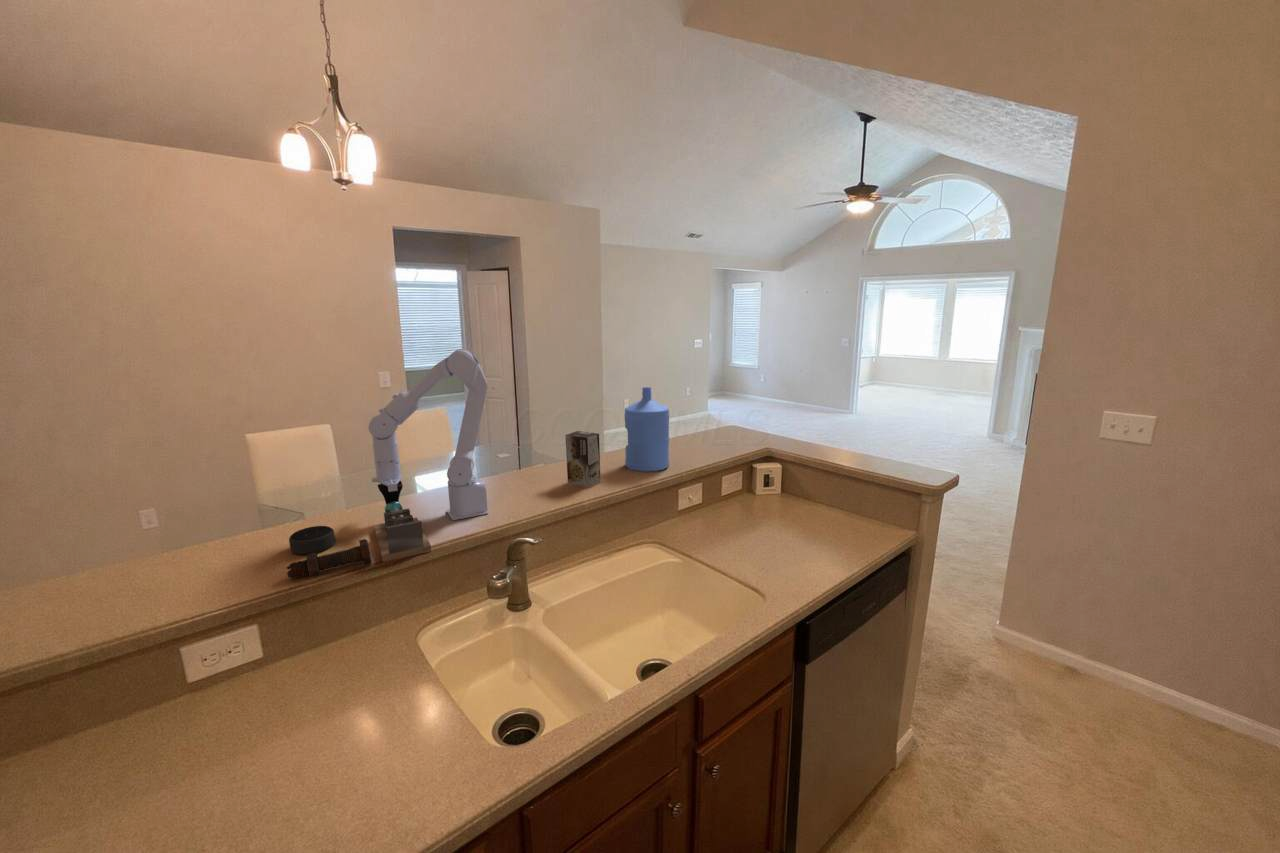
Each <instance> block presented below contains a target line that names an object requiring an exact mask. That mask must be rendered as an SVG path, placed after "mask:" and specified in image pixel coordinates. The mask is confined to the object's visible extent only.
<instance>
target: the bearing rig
mask: <svg viewBox="0 0 1280 853" xmlns="http://www.w3.org/2000/svg"><path fill="white" fill-rule="evenodd" d="M400 515H401V517H397V518H392V517H394V516H400ZM383 518H384V519H383V520H384V523H380V524H374V525H373V530H374V535H375V539H376V541H377V545H378V548H379V554H380V556H381V557H380V558H381V560H382V563H385V562H390V561H395V560H399V559H405V558H407V557H413V556H416V555H421V554H422V555H423V554H426V553H429V552H432V545H431V543H430V541H429V539H428V537H427V535H426V533H425V530H424V529H423V527H422V520H419V518H418V517H413V515H412V514H411V509H410V508H404V509H403V508H402V510H397V511H391V512H383ZM401 522H404V524H399V525H395V524H396V523H401Z"/></svg>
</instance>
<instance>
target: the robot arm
mask: <svg viewBox="0 0 1280 853" xmlns="http://www.w3.org/2000/svg"><path fill="white" fill-rule="evenodd" d="M453 375H454V376H455V377H457V378H458V379H460V380H461V382H462V383H463V384H464V385H465V387H466V388H467V389H468V392H467V395H466V396H467V397H466V401H465V407H464V410H463V411H464V412H463V414H462V415H463V416H462V419H461V425H460V431H459V435H458V439H457V443H456V444H457V445H456V449H455V453H454V456H453V457H452V458H451V460H450V462H449V467H448V468H447V471H446V477H447V479H448V481H447V489H448V490H447V491H448V498H449V500H448V501H449V503H448V504H449V509H446V513H447V514H448V516H449V518H450V519H451V520H452V521H456V520H457V521H459V520H462V519H467V518H473V517H477V516H483V515H487V514H489V511H488V510H489V509H488V498H487V488H486V487H487V486H486V483H485V481H484V479H482V478H478V479H477V478H476V476H474V474H473V473H474V472H473V471H474V467H475V463H474V460H473V459H474V458H473V455H474V450H475V447H476V442H477V438H478V433H479V430H480V425H481V418H482V415H483V409H484V404H485V400H486V396H487V391H488V384H489V383H488V381H487V378H486V377H485V374H484V372H483V369H482V366H481V364H480V362H479V359H477V357H476V356H475V355H474V354H473V353H472V352H471V351H470V350H468V349H464V348H458V349H456V350H454V351H453V352H452V353H451V354H450V355H449V356H447V357H445V358H443V359H442V360H441V361H439V362H437V363H436V364H435V365H434V366H433V367H432V368H430V370H429V371H428V372H427V373H426V374H425V375H424V376H423V377H422V378H421V379H420V380H419V381H418V382H417V383H415V385H414V386H413V387H412V388H411V389H410V390H408V391H400V392H399V393H398V392H396V393H395V394H394V395H392V397H391V398H392V399H391V400H390V402H389V403H388V404H387V405H386V406H384V407H380V409H379V410H378V413H379V414H377V415H375V416H373V417H372V418H371V420H370V422H369V423H368V431H369V434H370V435H371V437H372V449H373V457H374V466H375V474H376V475H375V476H376V477H372V478H371V482H372V483H377V489H378V491H379V492H380V494H382V497H383V498H384V502H385V505H386V504H387V503H389V502H390V501H398V502H399V501H400V500H399V499H400V494H401V491H402V489H403V488H404V487H403V483H402V479H403V474H402V471H401V470H402V469H401V463H400V462H401V459H400V450H399V442H398V440H397V438H398V437H397V432H396V431H397V430H398V427H399V426H400V425H402V424H404V422H405V421H406V420H407V419H408V418H411V416H412V415H413V414H414V413H415V412H417V410H418V409H419V408H420V399H421V398H422V397H424V396H425V395H426V394H427V393H428V392H429V391H430V390H431V389H432V388H433V387H435V385H436V384H437V383H439V382H440V381H441V380H445V379H449V378H452V377H453ZM378 483H379V484H378ZM399 503H400V502H399Z"/></svg>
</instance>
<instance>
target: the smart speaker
mask: <svg viewBox="0 0 1280 853" xmlns="http://www.w3.org/2000/svg"><path fill="white" fill-rule="evenodd" d="M335 535H336V534H335V530H334V529H333V528H332V527H330V526H327V525H316V526H315V525H314V526H310V527H305V528H303V529H299V530H297V531H294V533H292V534H291V535H290V536H289V539H288V543H289V549H290V552H292V553H293V554H295V555H302V556H303V555H304V556H307V555H308V554H312V553H316V554H317V553H321V552H324V551H326V550H328V549H330V548H331V547H332V546H334V544H335V543H336V537H335Z"/></svg>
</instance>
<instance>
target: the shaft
mask: <svg viewBox="0 0 1280 853" xmlns="http://www.w3.org/2000/svg"><path fill="white" fill-rule="evenodd" d="M402 509H403V506H402V503H400V502H398V501H390V502H389V503H387V504H386V503H385V506H384V513H386V512H391V511H397V510H402ZM397 517H402V515H400V516H394V517H392V518H397ZM399 524H404V522H401V523H396V524H395V525H399Z"/></svg>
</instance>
